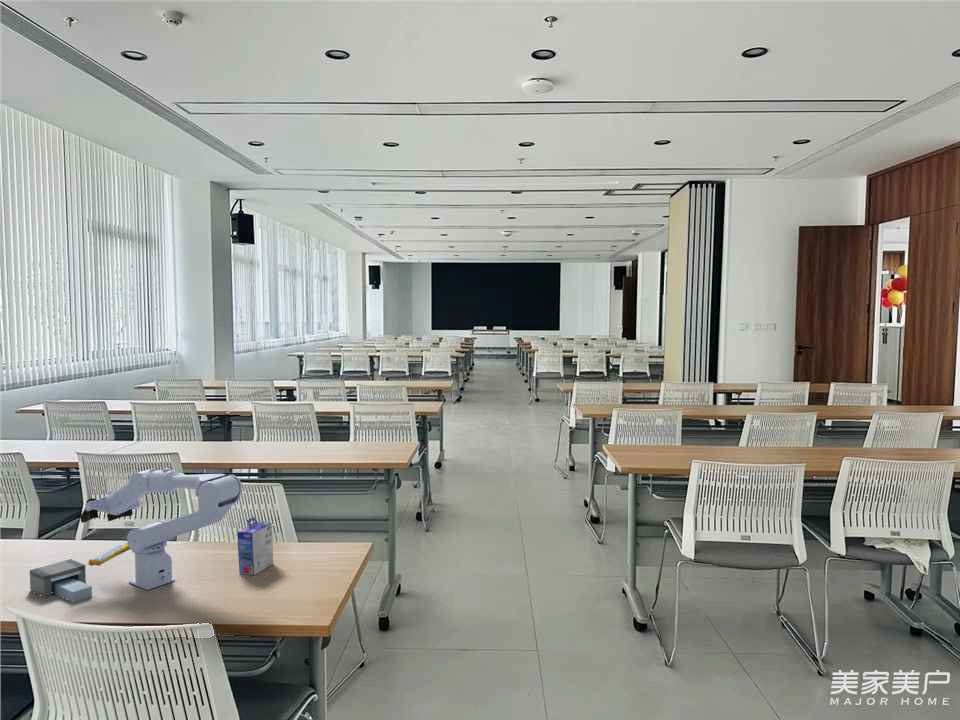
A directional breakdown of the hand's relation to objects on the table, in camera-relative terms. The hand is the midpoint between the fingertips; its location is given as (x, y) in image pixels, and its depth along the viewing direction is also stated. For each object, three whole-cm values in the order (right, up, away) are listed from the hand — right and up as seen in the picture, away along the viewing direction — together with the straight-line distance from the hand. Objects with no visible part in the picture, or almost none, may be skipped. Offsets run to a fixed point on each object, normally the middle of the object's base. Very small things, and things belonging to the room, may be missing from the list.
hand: (95, 518), depth 183 cm
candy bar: (-4, -15, +15) cm, 21 cm away
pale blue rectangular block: (+1, -16, -14) cm, 21 cm away
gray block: (-4, -16, -11) cm, 19 cm away
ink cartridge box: (+44, -15, +3) cm, 47 cm away
